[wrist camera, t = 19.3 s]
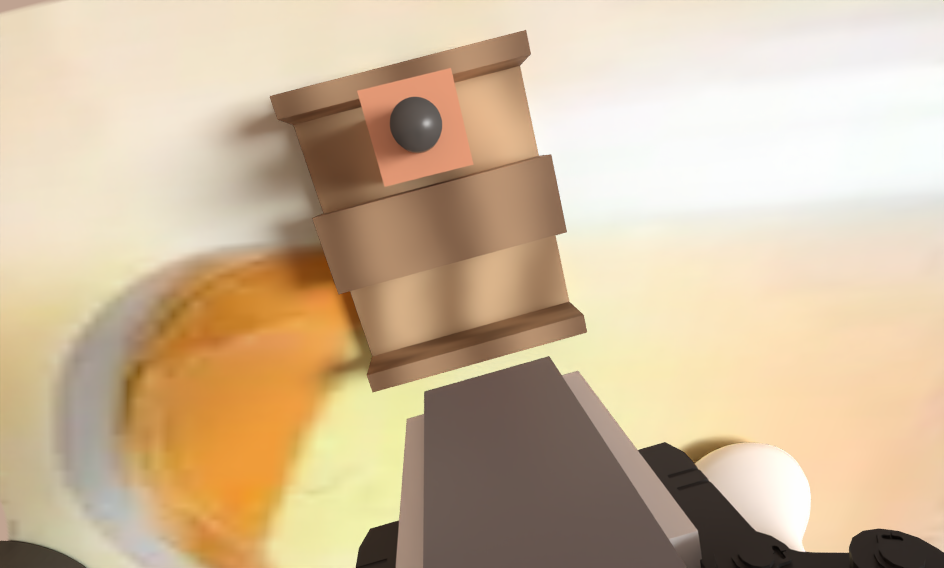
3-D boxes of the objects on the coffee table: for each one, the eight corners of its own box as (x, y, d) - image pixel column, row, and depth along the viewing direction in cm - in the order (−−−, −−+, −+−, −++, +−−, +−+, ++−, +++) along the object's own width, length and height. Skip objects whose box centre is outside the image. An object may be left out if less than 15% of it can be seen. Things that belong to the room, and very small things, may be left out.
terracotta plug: (397, 181, 29) (380, 188, 18) (378, 114, 28) (349, 82, 17) (459, 165, 29) (478, 164, 18) (443, 99, 28) (453, 56, 17)
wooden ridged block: (381, 373, 33) (375, 400, 29) (287, 95, 28) (265, 84, 24) (569, 320, 33) (588, 340, 29) (510, 38, 28) (523, 17, 24)
